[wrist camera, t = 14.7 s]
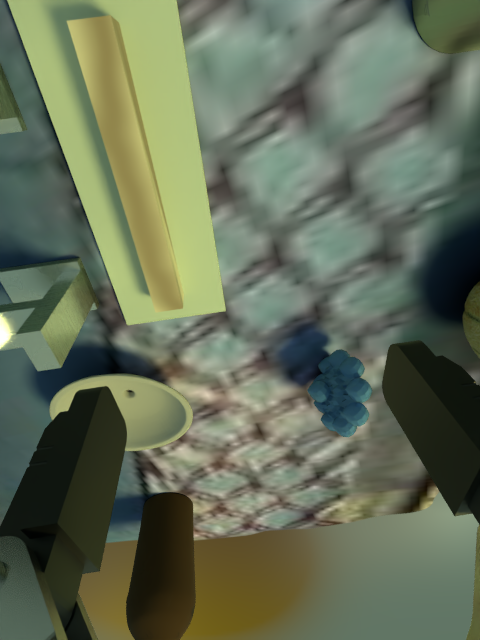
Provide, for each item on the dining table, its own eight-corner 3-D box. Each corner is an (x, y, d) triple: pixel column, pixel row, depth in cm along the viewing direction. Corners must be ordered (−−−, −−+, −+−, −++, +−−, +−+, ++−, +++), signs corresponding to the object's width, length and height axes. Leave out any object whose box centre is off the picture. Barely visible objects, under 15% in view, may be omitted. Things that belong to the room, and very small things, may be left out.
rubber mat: (170, -39, 24) (169, -41, 24) (225, 308, 41) (225, 310, 41) (3, -18, 24) (-1, -20, 24) (128, 322, 41) (127, 325, 41)
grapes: (307, 325, 44) (338, 393, 34) (355, 329, 45) (398, 395, 35) (286, 388, 50) (307, 461, 41) (329, 390, 52) (359, 461, 42)
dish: (67, 419, 50) (55, 449, 45) (57, 342, 42) (42, 370, 38) (187, 425, 53) (186, 453, 49) (199, 355, 45) (199, 381, 41)
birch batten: (119, 22, 25) (110, 15, 23) (183, 294, 39) (182, 308, 37) (79, 27, 25) (66, 20, 23) (158, 298, 39) (155, 312, 37)
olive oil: (171, 483, 61) (158, 681, 41) (207, 505, 67) (210, 689, 46) (128, 505, 64) (95, 701, 44) (165, 524, 70) (151, 706, 49)
